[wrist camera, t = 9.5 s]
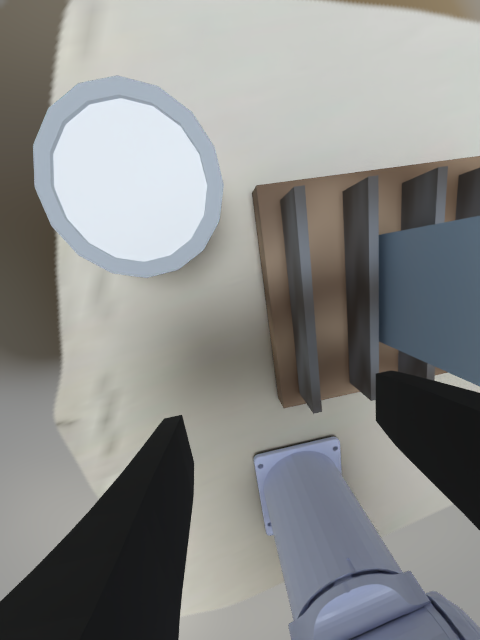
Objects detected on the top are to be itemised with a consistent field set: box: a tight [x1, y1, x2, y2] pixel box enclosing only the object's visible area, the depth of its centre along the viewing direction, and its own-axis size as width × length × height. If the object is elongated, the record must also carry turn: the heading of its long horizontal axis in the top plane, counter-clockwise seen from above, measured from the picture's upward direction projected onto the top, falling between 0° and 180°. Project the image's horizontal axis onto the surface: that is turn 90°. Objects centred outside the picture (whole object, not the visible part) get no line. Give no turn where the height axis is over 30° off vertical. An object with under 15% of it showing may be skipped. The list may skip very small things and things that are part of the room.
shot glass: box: [33, 76, 224, 278], centre depth 12 cm, size 7×7×7 cm
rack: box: [252, 156, 480, 414], centre depth 16 cm, size 16×16×4 cm
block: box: [379, 216, 480, 386], centre depth 13 cm, size 7×2×8 cm, turn 9°
